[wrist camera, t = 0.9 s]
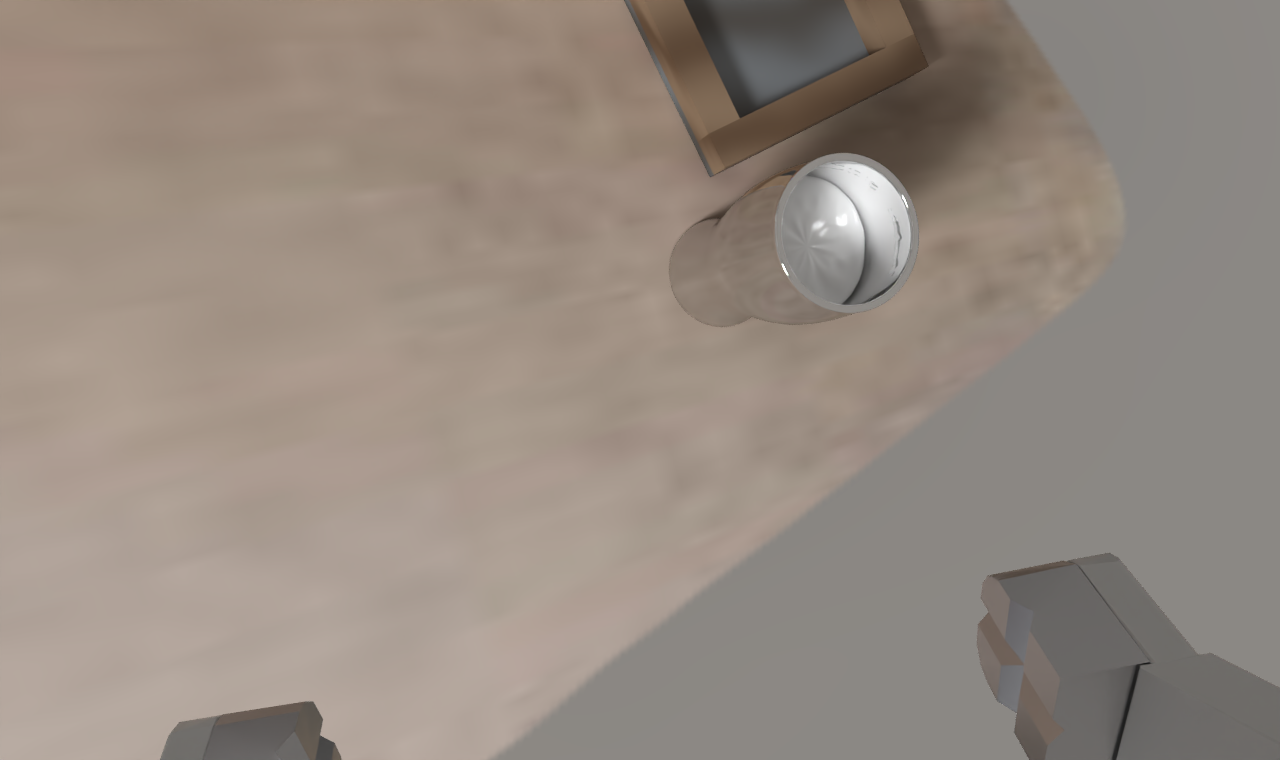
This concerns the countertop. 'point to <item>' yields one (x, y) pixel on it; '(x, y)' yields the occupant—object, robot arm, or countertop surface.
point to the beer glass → (801, 247)
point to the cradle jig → (772, 65)
